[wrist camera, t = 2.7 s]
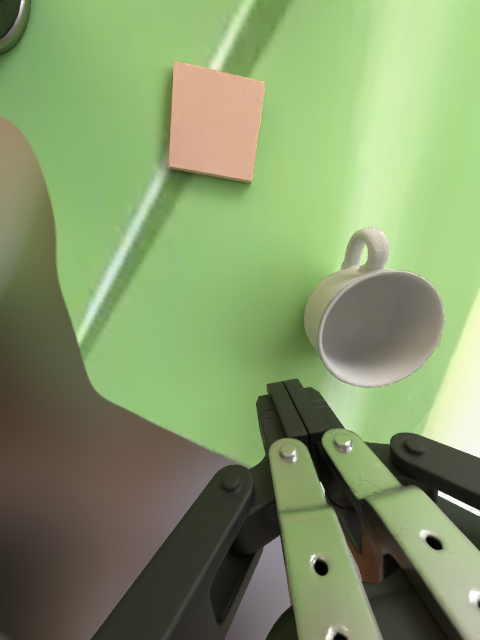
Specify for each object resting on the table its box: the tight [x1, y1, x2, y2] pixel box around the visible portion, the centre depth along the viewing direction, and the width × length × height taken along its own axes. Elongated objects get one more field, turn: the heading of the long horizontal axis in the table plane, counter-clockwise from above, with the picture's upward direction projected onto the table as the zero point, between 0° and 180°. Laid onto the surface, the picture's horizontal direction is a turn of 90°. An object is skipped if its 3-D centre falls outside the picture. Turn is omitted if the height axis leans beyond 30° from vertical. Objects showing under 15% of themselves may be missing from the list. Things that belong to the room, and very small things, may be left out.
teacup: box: [304, 227, 445, 388], centre depth 24 cm, size 14×11×8 cm
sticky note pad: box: [169, 61, 265, 183], centre depth 22 cm, size 8×8×1 cm
